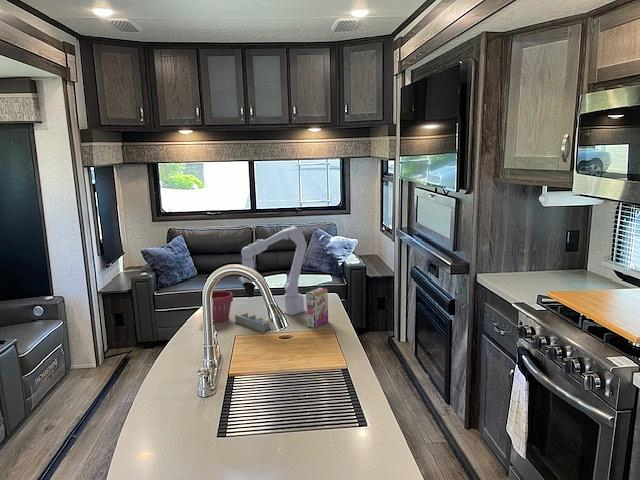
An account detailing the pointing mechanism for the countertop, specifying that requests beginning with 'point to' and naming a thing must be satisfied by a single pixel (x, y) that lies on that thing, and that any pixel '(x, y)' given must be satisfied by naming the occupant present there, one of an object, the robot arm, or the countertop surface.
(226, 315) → the plant pot
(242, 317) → the grey comb rack
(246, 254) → the robot arm
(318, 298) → the candy bar box
